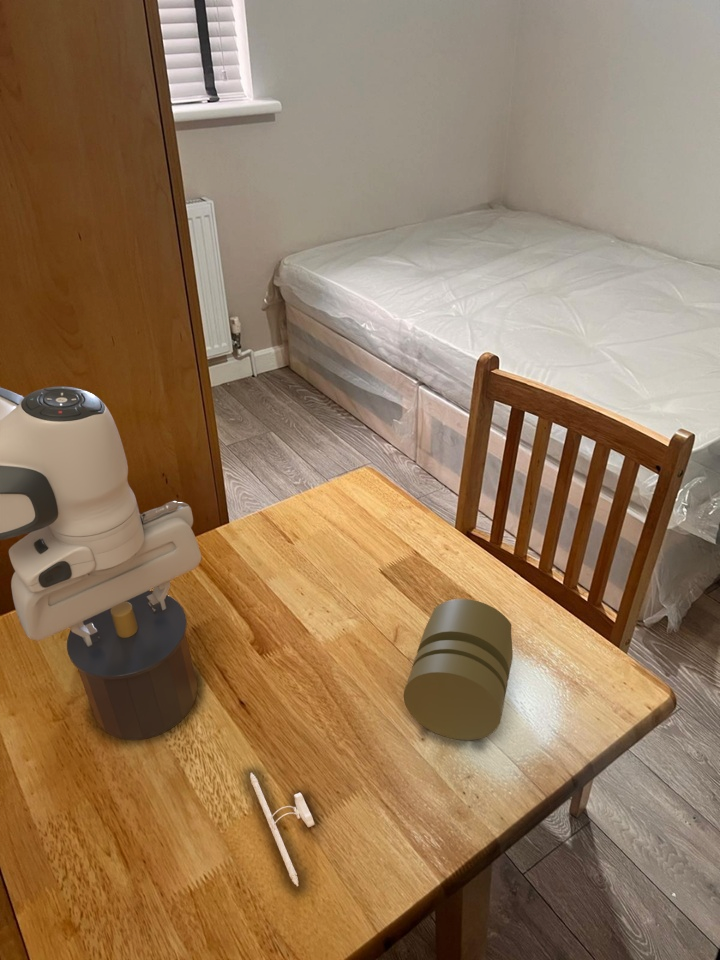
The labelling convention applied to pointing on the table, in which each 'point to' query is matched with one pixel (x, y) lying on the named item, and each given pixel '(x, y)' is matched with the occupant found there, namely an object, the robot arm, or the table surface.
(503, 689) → the piston
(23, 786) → the table surface
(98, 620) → the tin lid
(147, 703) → the tin
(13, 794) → the table surface
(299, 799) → the picture light
